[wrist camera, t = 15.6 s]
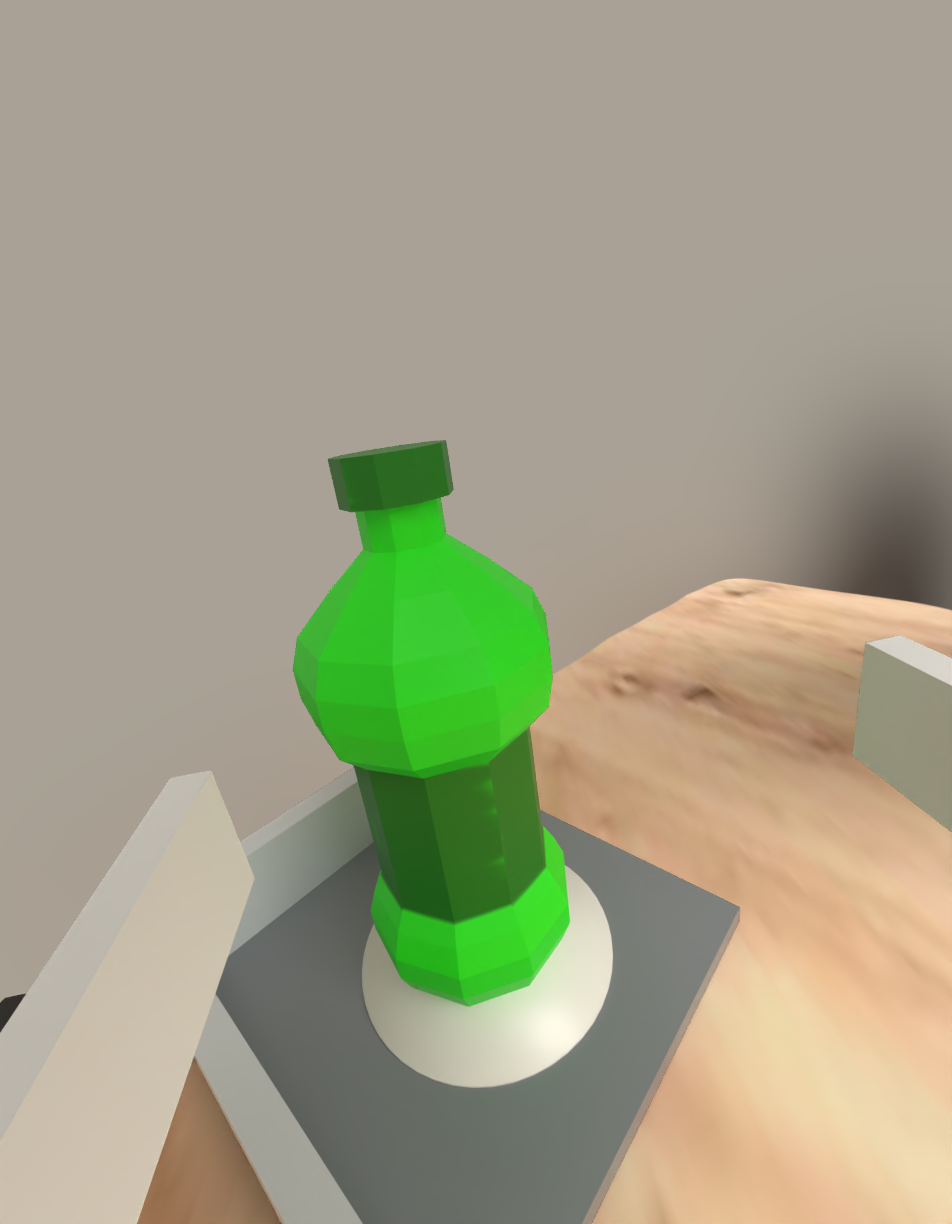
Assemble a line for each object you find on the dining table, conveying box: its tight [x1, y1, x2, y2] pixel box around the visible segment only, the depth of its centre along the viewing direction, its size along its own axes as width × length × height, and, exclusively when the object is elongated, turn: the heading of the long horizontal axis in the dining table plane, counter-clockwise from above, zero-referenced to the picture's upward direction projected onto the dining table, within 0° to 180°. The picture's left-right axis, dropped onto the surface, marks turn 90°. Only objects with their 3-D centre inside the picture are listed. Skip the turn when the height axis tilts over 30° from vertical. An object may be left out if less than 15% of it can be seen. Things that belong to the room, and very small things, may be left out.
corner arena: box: [194, 768, 740, 1224], centre depth 28 cm, size 22×22×6 cm
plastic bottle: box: [293, 440, 570, 1007], centre depth 24 cm, size 10×10×25 cm
